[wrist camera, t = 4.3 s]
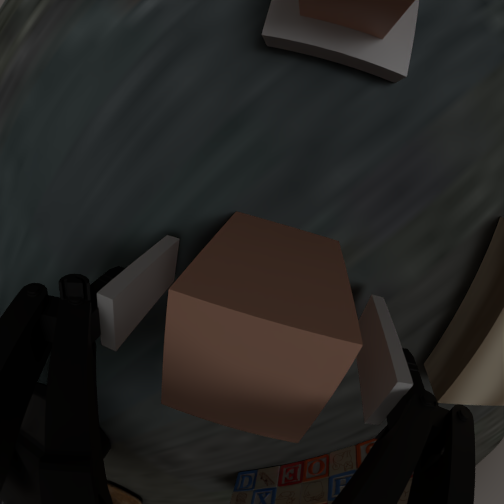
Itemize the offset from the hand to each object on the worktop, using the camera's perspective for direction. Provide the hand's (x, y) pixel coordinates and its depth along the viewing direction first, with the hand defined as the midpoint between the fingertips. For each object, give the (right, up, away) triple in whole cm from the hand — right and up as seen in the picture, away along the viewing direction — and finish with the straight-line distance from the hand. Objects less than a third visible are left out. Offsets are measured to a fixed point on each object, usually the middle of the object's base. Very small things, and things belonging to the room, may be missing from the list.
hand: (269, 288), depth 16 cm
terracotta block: (0, +1, +2) cm, 2 cm away
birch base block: (+19, -3, 0) cm, 19 cm away
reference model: (+4, +15, -5) cm, 16 cm away
